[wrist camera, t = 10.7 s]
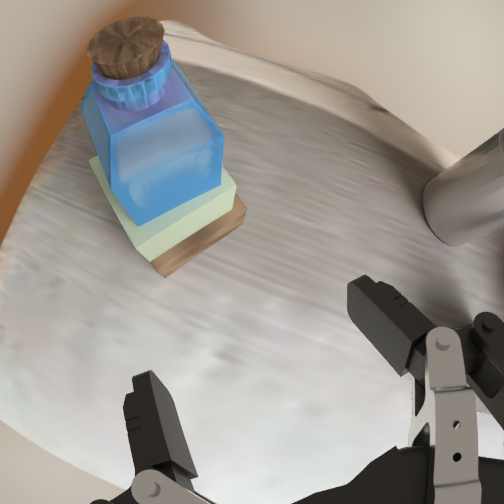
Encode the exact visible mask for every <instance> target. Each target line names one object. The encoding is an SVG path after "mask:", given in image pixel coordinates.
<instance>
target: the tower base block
mask: <svg viewBox="0 0 504 504" xmlns="http://www.w3.org/2000/svg"><path fill="white" fill-rule="evenodd" d="M246 210H247V207H246V206H245V205H244V203H243V202H242V201H241V199H240V198H239V197H238V196H237V194H236V193H235V196H234V202H233V207H232V210H230V211H229V212H227V213H225V214H224V215H222V216H221V217H219V218H217V219H216V220H214V221H213V222H211V223H209V224H208V225H206V226H205V227H203V228H202V229H200V230H198V231H197V232H195V233H194V234H192V235H191V236H189V237H187V238H186V239H184V240H183V241H181V242H180V243H178V244H177V245H175V246H173V247H172V248H170V249H169V250H167V251H166V252H164V253H163V254H161V255H160V256H158V257H157V258H155V259H154V260H152V261H151V263H152V264H153V266H154V267H155V269H156V270H157V271H158V272H159V273H160V274H161V275H163V276H164V277H165V278H166V277H167V276H169V275H170V274H171V273H173V272H174V271H176V270H177V269H179V268H180V267H181V266H183V265H184V264H186V263H187V262H188V261H190V260H191V259H193V258H194V257H196V256H197V255H198V254H200V253H201V252H203V251H204V250H206V249H207V248H209V247H210V246H211V245H213V244H214V243H216V242H217V241H219V240H220V239H222V238H223V237H224V236H226V235H227V234H229V233H230V232H232V231H233V230H235V229H236V228H238V227H239V226H241V225H242V223H243V219H244V216H245V213H246Z"/></svg>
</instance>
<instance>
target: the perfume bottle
mask: <svg viewBox="0 0 504 504" xmlns="http://www.w3.org/2000/svg"><path fill="white" fill-rule="evenodd" d="M163 36H164V28H163V25H162V24H161V23H160V22H159V21H157V20H155V19H152V18H149V17H130V18H126V19H122V20H119V21H116V22H114V23H112V24H110V25H108V26H106V27H104V28H103V29H102V30H100V31H99V32H98V33H96V34H95V36H94V37H93V38H92V39H91V40H90V42H89V45H88V47H87V53H88V56H89V57H90V58H91V60H92V61H93V65H92V67H91V71H92V77H93V80H94V81H92V82H91V83H90V84H89V87H88V89H87V91H86V94H85V97H84V100H83V102H82V105H81V110H82V113H83V116H84V119H85V122H86V125H87V127H88V130H89V133H90V136H91V139H92V141H93V144H94V147H95V150H96V152H97V155H98V158H99V160H100V163H101V165H102V168H103V171H104V173H105V176H106V178H107V181H108V183H109V186H110V188H111V190H112V192H113V193H114V195H115V196H116V197H117V199H118V200H119V201H120V203H121V204H122V206H123V207H124V208H125V210H126V211H127V212H128V214H129V215H130V216H131V218H132V219H133V220H134V222H135V223H136V224H137V226H138V227H139V226H141V225H143V224H145V223H147V222H149V221H151V220H153V219H154V218H156V217H158V216H160V215H162V214H164V213H166V212H168V211H170V210H172V209H174V208H176V207H178V206H179V205H181V204H183V203H185V202H187V201H189V200H191V199H193V198H195V197H197V196H199V195H201V194H203V193H205V192H208V191H210V190H212V189H214V188H216V187H218V186H220V185H221V174H222V159H223V146H224V135H223V133H222V132H221V130H220V129H219V127H218V126H217V124H216V122H215V121H214V119H213V118H212V116H211V115H210V113H209V112H208V110H207V109H206V107H205V106H204V104H203V102H202V101H201V99H200V98H199V96H198V95H197V93H196V92H195V90H194V89H193V87H192V86H191V84H190V83H189V81H188V80H187V78H186V77H185V75H184V74H183V72H182V71H181V69H180V68H179V66H178V65H177V64H176V63H175V62H174V61H173V60H172V59H171V54H170V49H169V46H168V44H167V43H166V42H165V41H164V40H163Z"/></svg>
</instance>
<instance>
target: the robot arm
mask: <svg viewBox="0 0 504 504" xmlns="http://www.w3.org/2000/svg"><path fill="white" fill-rule="evenodd" d="M422 199H423V209H424V214H425V217H426V219H427V222H428V224H429V226H430V228H431V229H432V231H433V232H434V233H435V235H436V236H437V237H438V238H439V239H440V240H442V241H443V242H445V243H446V244H449V245H453V246H457V245H461V244H464V243H467V242H470V241H472V240H475V239H478V238H481V237H484V236H486V235H489V234H491V233H494V232H497V231H499V230H502V229H504V128H503V129H502V130H501V131H499V132H498V133H497V134H495V135H494V136H493V137H491V138H490V139H488V140H487V141H486V142H484V143H483V144H482V145H480V146H479V147H477V148H476V149H475V150H473V151H472V152H471V153H469V154H468V155H466V156H465V157H463V158H462V159H461V160H459V161H458V162H456V163H455V164H453V165H452V166H451V167H449V168H447V169H446V170H445V171H443V172H442V173H440V174H439V175H438V176H436V177H435V178H433V179H432V180H431V181H429V182H428V183H427V185H426V186H425V189H424V192H423V198H422ZM347 310H348V314H349V316H350V318H351V320H352V322H353V323H354V324H355V325H356V326H357V327H358V328H359V330H360V331H361V332H362V333H363V334H364V335H365V336H366V338H367V339H368V340H369V341H370V342H371V343H372V344H373V345H374V347H375V348H376V349H377V350H378V351H379V352H380V353H381V355H382V356H383V357H384V358H385V359H386V360H387V361H388V363H389V364H390V365H391V366H392V367H393V368H394V370H395V371H396V372H397V373H398V374H399V375H400V376H401V377H402V376H403V375H404V374H406V373H407V372H410V373H411V374H412V421H411V426H410V430H409V436H408V447H405V448H401V449H397V447H396V446H395V447H393V448H392V449H390V450H389V451H387V452H386V453H384V454H383V455H381V456H380V457H378V458H376V459H375V460H373V461H372V462H370V463H369V464H368V465H367V466H366V467H365V468H364V469H363V470H362V471H361V472H360V473H359V474H358V475H357V476H356V477H355V478H354V479H353V480H352V481H351V482H349V483H348V484H346V485H343V486H340V487H336V488H332V489H328V490H325V491H321V492H317V493H314V494H312V495H310V496H308V497H305V498H303V499H301V500H299V501H297V502H294V503H292V504H504V460H501V459H493V458H486V457H479V456H478V431H477V415H476V403H475V394H476V395H477V396H478V398H479V399H480V400H481V401H482V403H483V404H484V405H485V406H486V408H487V409H488V410H489V412H490V413H491V414H492V415H493V417H494V418H495V419H496V421H497V422H498V423H499V424H500V426H501V427H502V428H503V430H504V322H503V321H502V320H501V319H500V318H499V317H498V316H496V315H495V314H493V313H490V312H481V313H479V314H478V315H477V316H476V317H475V319H474V321H473V323H472V324H470V325H467V326H465V327H462V328H459V329H456V330H452V329H450V328H447V327H437V326H435V325H434V324H433V323H432V322H431V321H430V320H429V319H428V318H427V317H426V316H425V315H423V314H422V313H421V312H420V311H419V310H418V309H417V308H416V307H415V306H414V305H413V304H412V303H411V302H408V300H407V299H406V298H405V297H404V296H402V295H401V293H400V292H398V291H397V290H396V289H395V288H394V287H393V286H391V285H389V284H386V283H384V282H382V281H380V282H378V283H375V282H374V281H373V280H372V279H371V278H370V277H368V276H367V275H363V276H361V277H359V278H357V279H355V280H353V281H351V282H349V283H348V285H347ZM491 361H492V362H493V363H492V362H491ZM499 370H500V371H499ZM132 383H133V389H134V392H132V393H129V394H126V397H125V401H124V405H123V411H124V417H125V421H126V428H127V431H128V439H129V444H130V448H131V453H132V458H133V462H134V467H135V478H134V479H133V481H132V485H131V486H130V488H129V489H128V490H126V491H125V492H123V493H122V494H120V495H119V496H117V497H115V498H114V499H113V500H111V501H107V500H102V499H99V500H95V501H93V502H92V503H90V504H217V503H215V502H213V501H212V500H210V499H208V498H207V497H205V496H203V495H202V494H200V493H198V492H197V491H195V490H194V488H193V485H192V483H191V480H190V479H193V478H196V477H198V475H197V472H196V469H195V466H194V463H193V461H192V458H191V455H190V452H189V449H188V446H187V443H186V440H185V437H184V434H183V431H182V427H181V424H180V421H179V418H178V414H177V411H176V408H175V404H174V401H173V399H172V397H171V395H170V393H169V391H168V390H167V388H166V387H165V386H164V385H163V384H162V382H161V381H160V380H159V379H158V377H157V376H156V375H155V374H154V372H153V371H151V370H149V371H147V372H144V373H141V374H138V375H136V376H133V377H132ZM467 384H468V385H469V387H468V386H467ZM474 393H475V394H474ZM503 446H504V443H503Z"/></svg>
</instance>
